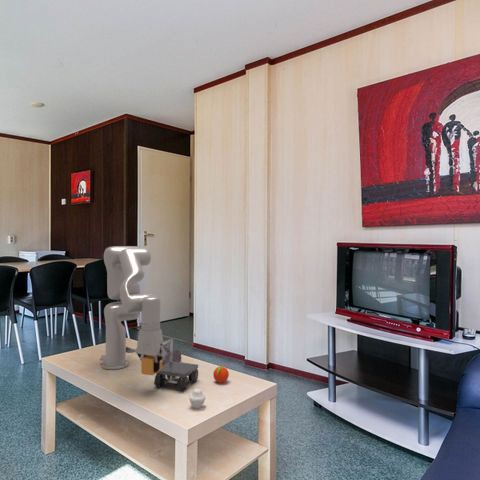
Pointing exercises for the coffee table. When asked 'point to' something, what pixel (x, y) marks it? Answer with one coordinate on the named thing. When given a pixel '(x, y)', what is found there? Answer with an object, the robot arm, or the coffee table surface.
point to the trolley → (176, 372)
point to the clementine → (220, 374)
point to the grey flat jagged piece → (129, 350)
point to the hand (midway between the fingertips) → (150, 370)
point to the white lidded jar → (197, 398)
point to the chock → (149, 365)
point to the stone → (175, 355)
